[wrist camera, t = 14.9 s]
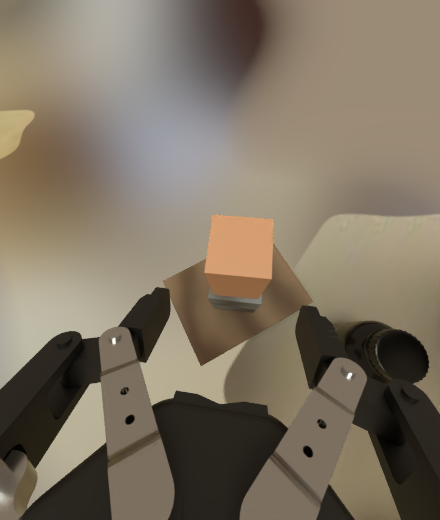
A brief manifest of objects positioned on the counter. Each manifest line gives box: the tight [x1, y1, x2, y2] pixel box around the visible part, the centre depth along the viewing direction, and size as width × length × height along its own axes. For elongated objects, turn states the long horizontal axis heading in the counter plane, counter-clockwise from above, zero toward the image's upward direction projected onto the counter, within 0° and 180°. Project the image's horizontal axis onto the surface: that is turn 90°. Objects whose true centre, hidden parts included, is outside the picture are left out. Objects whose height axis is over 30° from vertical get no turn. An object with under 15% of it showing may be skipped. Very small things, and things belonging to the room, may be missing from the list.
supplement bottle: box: [333, 321, 429, 385], centre depth 26 cm, size 7×7×12 cm
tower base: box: [163, 244, 313, 366], centre depth 30 cm, size 19×14×10 cm
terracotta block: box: [204, 215, 274, 299], centre depth 21 cm, size 5×5×9 cm
